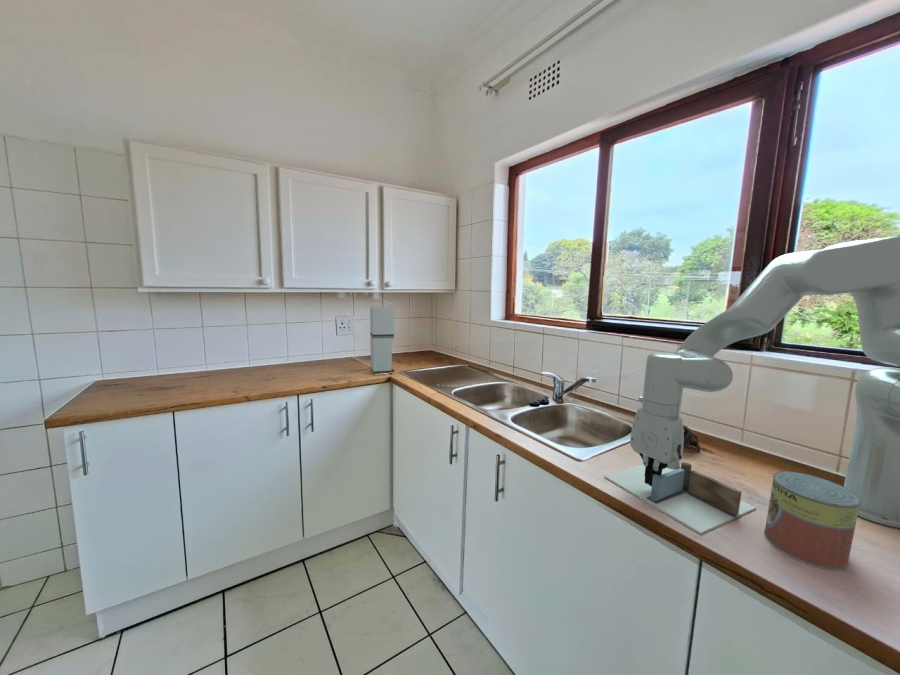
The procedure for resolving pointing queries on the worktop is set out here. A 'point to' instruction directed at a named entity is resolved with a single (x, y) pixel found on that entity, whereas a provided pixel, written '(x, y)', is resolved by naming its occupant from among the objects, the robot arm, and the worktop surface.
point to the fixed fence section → (711, 489)
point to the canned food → (812, 519)
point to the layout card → (677, 501)
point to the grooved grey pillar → (381, 338)
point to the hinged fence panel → (667, 484)
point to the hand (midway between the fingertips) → (652, 483)
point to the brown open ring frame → (690, 438)
